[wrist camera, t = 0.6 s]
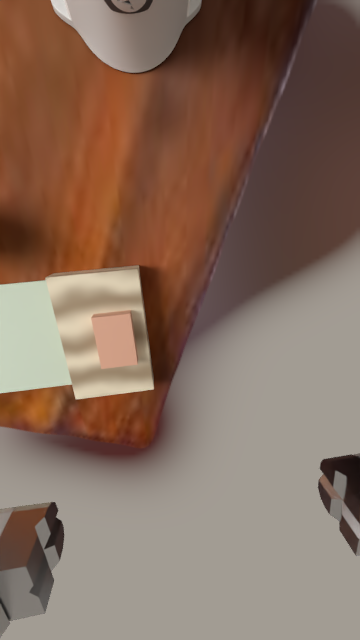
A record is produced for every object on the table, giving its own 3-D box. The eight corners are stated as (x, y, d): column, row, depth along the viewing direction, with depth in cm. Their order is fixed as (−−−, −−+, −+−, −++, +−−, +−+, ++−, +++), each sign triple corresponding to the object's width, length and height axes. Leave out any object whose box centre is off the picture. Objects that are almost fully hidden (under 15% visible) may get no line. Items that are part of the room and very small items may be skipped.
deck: (54, 273, 44) (45, 277, 41) (138, 265, 45) (137, 268, 42) (81, 386, 52) (75, 399, 48) (153, 377, 53) (153, 389, 49)
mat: (-40, 288, 44) (-41, 288, 43) (49, 279, 45) (48, 280, 44) (-2, 392, 50) (-2, 393, 50) (74, 383, 51) (74, 383, 51)
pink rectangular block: (93, 314, 43) (91, 318, 41) (130, 309, 44) (130, 313, 42) (103, 363, 46) (101, 369, 44) (138, 359, 47) (137, 364, 45)
